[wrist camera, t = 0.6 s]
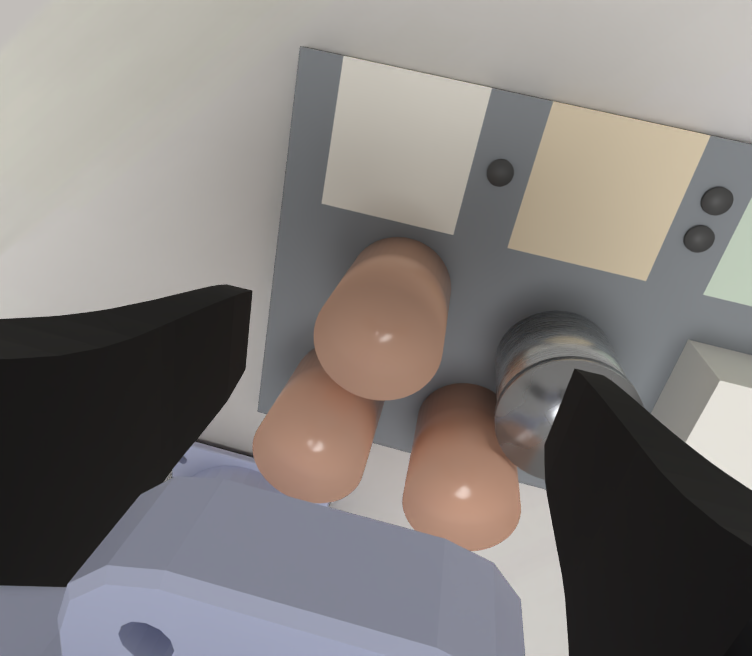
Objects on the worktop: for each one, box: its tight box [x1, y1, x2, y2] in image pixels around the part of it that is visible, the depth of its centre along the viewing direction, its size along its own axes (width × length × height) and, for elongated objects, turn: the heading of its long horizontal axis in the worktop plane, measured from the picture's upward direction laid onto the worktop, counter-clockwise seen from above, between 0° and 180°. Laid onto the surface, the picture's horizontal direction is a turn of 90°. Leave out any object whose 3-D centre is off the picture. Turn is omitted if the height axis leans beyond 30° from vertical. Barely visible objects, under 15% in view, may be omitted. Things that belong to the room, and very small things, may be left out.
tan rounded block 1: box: [253, 348, 385, 503], centre depth 21 cm, size 4×4×5 cm
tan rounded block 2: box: [402, 383, 521, 551], centre depth 21 cm, size 4×4×5 cm
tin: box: [494, 311, 644, 480], centre depth 19 cm, size 5×5×4 cm
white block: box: [651, 340, 752, 490], centre depth 20 cm, size 4×4×3 cm
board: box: [258, 46, 752, 490], centre depth 21 cm, size 15×22×1 cm
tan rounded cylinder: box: [314, 237, 451, 401], centre depth 19 cm, size 4×4×5 cm
